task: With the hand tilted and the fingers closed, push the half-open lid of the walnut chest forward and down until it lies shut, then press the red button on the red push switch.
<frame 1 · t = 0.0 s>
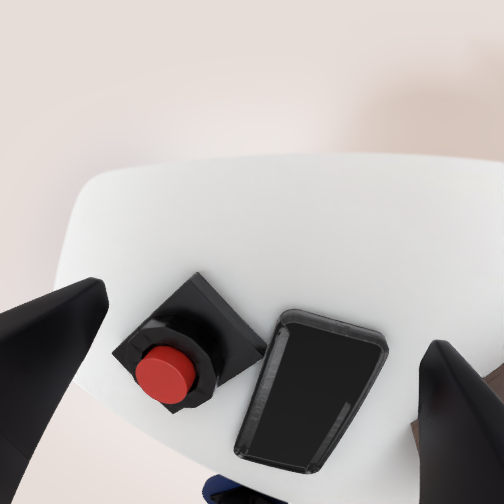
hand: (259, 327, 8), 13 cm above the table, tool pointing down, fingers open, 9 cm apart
chest: (484, 425, 21), on the table
button: (165, 375, 20), point 4 cm above the table, slide at 0.1 cm
phone: (304, 402, 23), on the table
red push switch: (187, 345, 23), on the table
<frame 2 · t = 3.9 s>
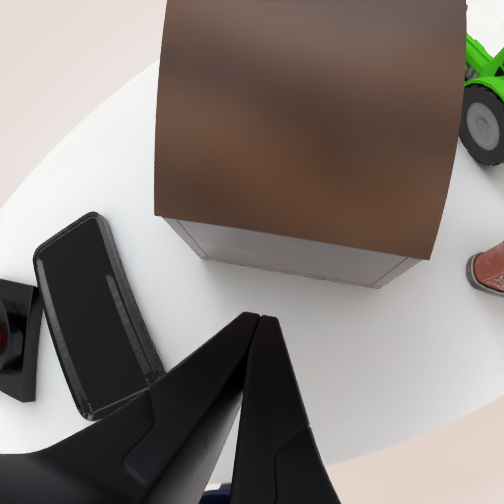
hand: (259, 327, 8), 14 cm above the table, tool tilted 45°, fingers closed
toy tractor: (476, 111, 25), on the table
lighter: (502, 277, 20), on the table
chest: (302, 196, 23), on the table
phone: (94, 315, 23), on the table
lid: (308, 92, 12), point 12 cm above the table, hinge at 40.0°
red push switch: (13, 337, 23), on the table
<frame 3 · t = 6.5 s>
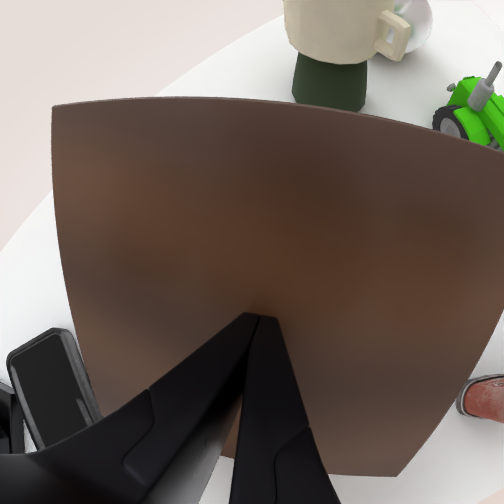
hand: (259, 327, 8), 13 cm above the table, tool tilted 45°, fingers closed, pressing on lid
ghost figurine: (379, 47, 27), on the table
toy tractor: (494, 187, 22), on the table
lighter: (495, 395, 17), on the table
phone: (71, 428, 19), on the table
cream and green trophy: (328, 98, 25), on the table
lid: (262, 341, 9), point 12 cm above the table, hinge at 38.7°, touching gripper
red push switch: (0, 429, 20), on the table
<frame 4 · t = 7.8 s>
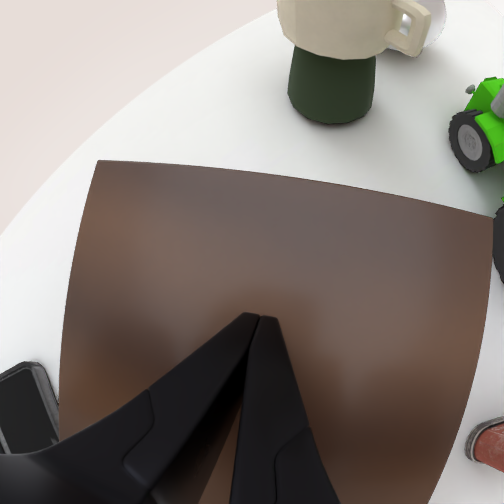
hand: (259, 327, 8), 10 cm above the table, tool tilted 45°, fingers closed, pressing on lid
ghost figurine: (386, 43, 24), on the table
phone: (49, 464, 16), on the table
cream and green trophy: (329, 100, 22), on the table
lid: (254, 394, 8), point 9 cm above the table, hinge at 8.9°, touching gripper
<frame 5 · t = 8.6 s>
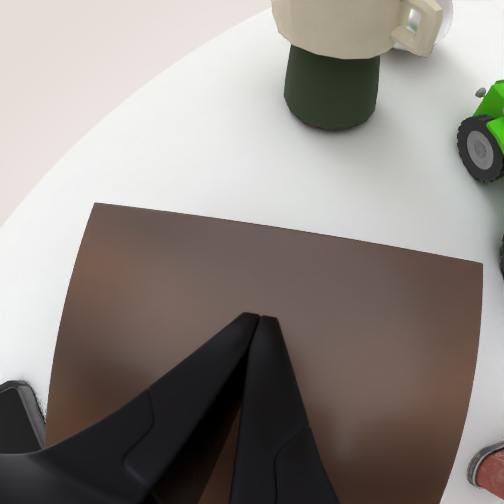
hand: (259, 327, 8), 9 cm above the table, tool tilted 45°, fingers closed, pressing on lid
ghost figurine: (389, 42, 22), on the table
phone: (39, 483, 15), on the table
cream and green trophy: (329, 103, 21), on the table
lid: (242, 440, 8), point 8 cm above the table, hinge at -0.3°, touching chest, gripper
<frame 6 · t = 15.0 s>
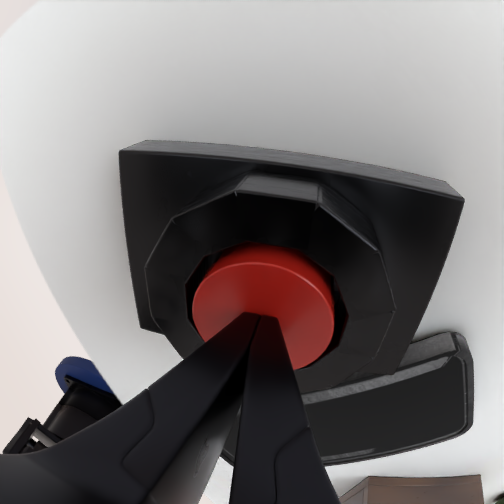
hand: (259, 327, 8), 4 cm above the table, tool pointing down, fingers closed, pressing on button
chest: (393, 501, 21), on the table
button: (266, 304, 9), point 3 cm above the table, slide at -0.9 cm, touching gripper
phone: (328, 415, 15), on the table
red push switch: (281, 252, 11), on the table
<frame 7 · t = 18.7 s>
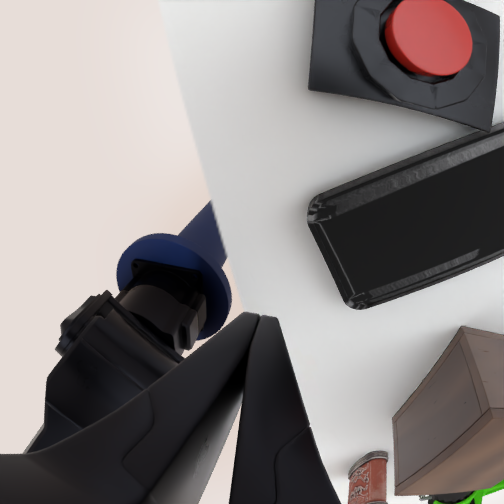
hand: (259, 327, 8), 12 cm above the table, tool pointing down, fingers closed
toy tractor: (470, 462, 30), on the table
lighter: (367, 463, 32), on the table
chest: (472, 385, 23), on the table
button: (428, 36, 10), point 4 cm above the table, slide at 0.1 cm
phone: (438, 213, 17), on the table
lid: (491, 459, 16), point 8 cm above the table, hinge at -0.3°, touching chest
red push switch: (406, 46, 13), on the table
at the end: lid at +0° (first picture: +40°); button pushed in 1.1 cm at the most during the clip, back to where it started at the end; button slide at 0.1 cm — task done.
